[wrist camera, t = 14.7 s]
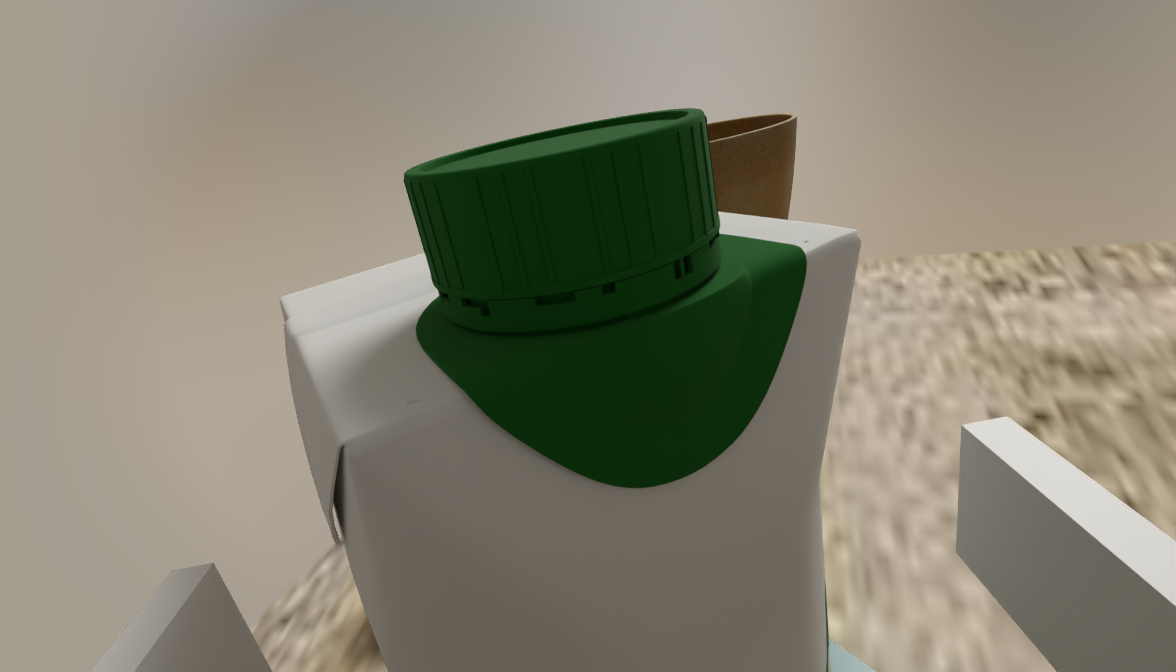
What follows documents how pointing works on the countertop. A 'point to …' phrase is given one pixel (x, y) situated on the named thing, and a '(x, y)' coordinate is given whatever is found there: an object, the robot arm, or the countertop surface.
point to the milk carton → (581, 412)
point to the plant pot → (754, 164)
